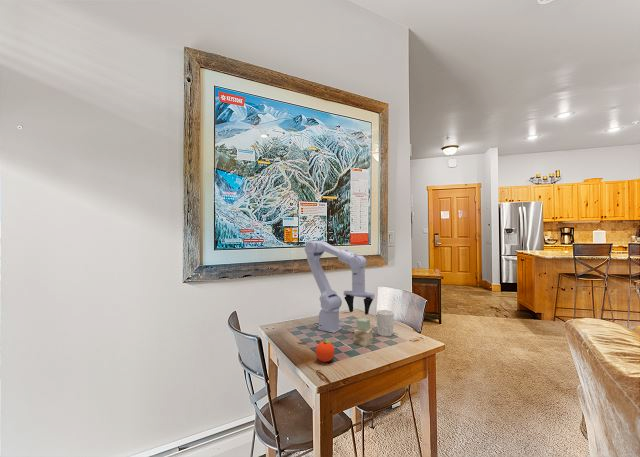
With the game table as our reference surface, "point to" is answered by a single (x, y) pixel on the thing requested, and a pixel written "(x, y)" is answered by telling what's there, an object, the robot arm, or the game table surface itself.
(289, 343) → the game table surface
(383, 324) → the white cup
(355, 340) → the slab lower
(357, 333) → the slab upper
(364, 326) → the cube
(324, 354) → the clementine
